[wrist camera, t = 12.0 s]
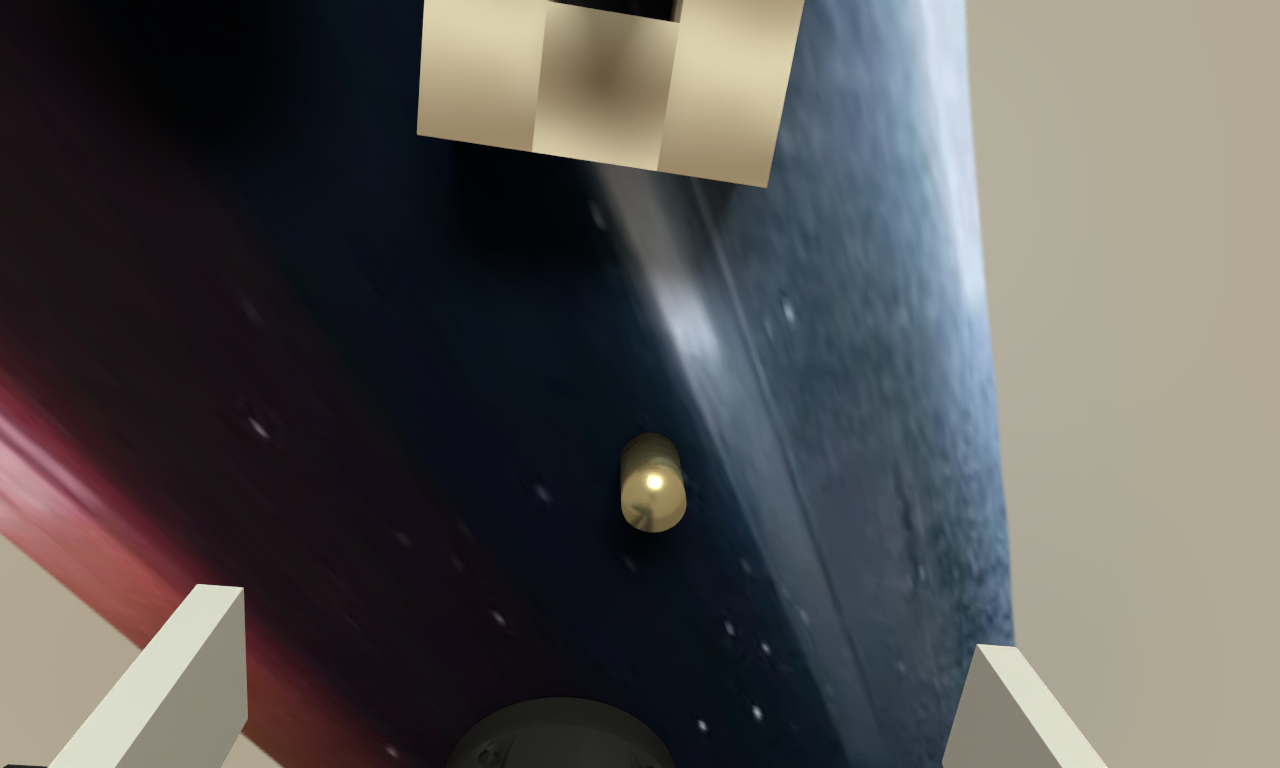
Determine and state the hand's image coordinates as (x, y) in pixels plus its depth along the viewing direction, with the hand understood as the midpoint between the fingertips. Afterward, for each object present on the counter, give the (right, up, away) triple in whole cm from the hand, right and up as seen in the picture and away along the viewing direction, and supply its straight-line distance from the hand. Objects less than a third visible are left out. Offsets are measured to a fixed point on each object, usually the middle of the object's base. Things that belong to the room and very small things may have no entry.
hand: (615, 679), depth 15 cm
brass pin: (+1, +1, +31) cm, 31 cm away
